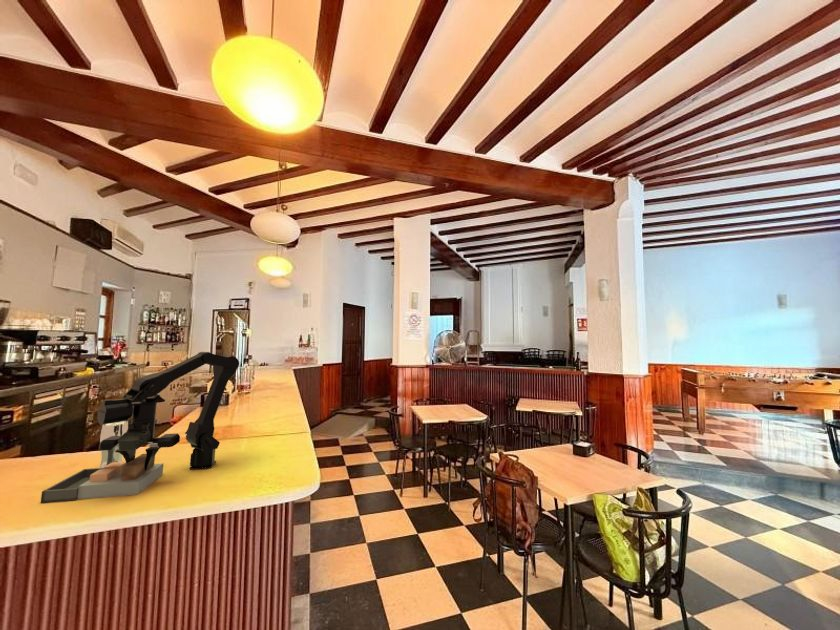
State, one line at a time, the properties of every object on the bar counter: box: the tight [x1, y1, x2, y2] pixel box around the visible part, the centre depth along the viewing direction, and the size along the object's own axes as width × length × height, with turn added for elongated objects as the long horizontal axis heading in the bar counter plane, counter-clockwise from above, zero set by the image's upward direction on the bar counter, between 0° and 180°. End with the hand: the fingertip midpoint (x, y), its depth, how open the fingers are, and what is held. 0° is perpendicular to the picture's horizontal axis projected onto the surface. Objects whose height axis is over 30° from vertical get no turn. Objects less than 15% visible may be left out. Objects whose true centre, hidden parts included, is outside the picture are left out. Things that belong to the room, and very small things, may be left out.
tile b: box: [90, 469, 116, 482], centre depth 97 cm, size 4×4×2 cm
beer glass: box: [98, 420, 129, 468], centre depth 114 cm, size 7×7×15 cm
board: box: [77, 462, 164, 500], centre depth 100 cm, size 14×15×4 cm
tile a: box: [104, 461, 127, 473], centre depth 103 cm, size 4×4×2 cm
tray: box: [40, 467, 104, 504], centre depth 98 cm, size 8×16×3 cm, turn 16°
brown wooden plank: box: [121, 453, 156, 480], centre depth 102 cm, size 4×11×4 cm, turn 16°
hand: (138, 470), depth 102 cm, fingers closed on brown wooden plank, 3 cm apart
